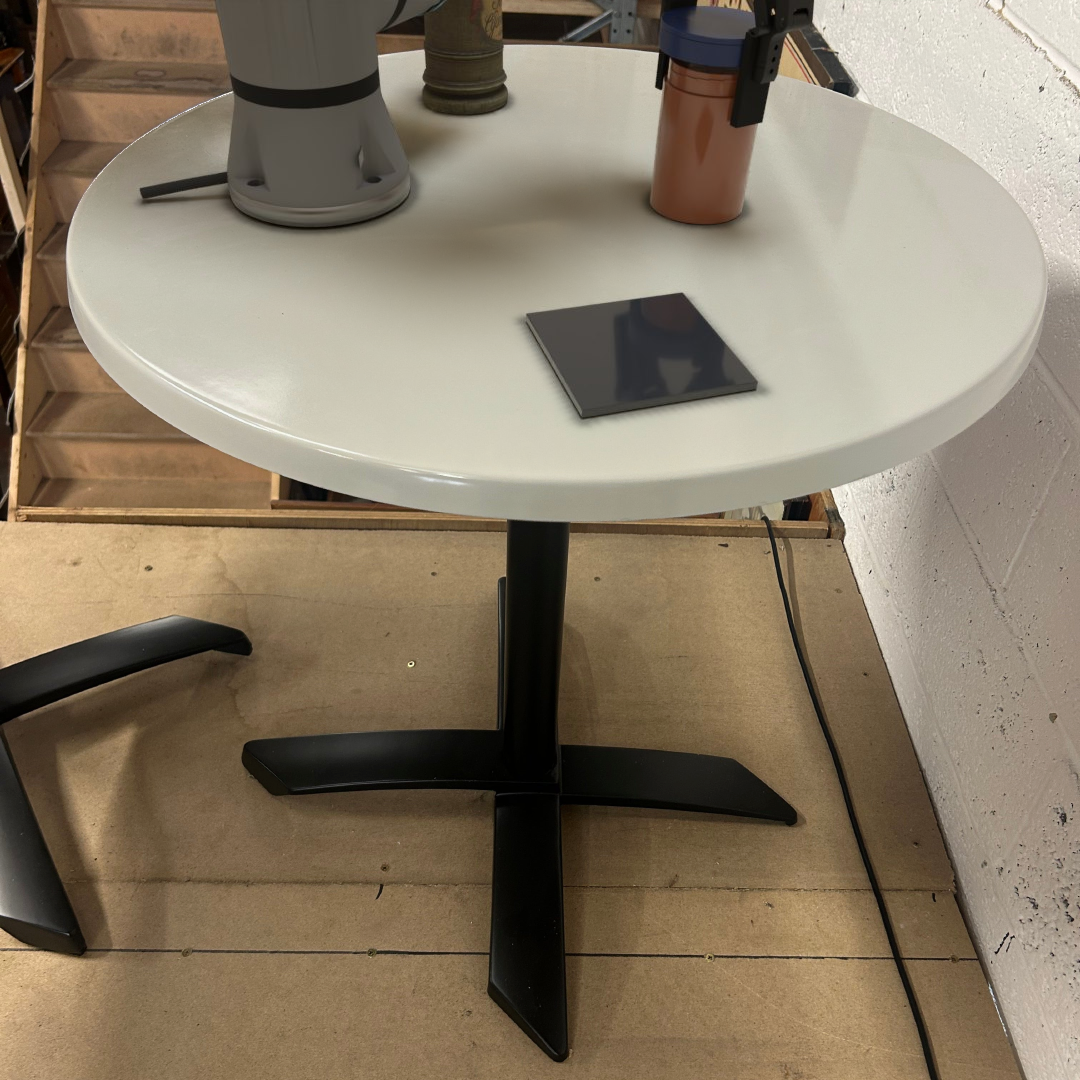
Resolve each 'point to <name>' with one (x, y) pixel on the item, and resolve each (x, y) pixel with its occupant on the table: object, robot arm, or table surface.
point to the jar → (700, 146)
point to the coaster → (637, 354)
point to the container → (464, 57)
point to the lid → (705, 34)
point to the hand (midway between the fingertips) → (706, 104)
